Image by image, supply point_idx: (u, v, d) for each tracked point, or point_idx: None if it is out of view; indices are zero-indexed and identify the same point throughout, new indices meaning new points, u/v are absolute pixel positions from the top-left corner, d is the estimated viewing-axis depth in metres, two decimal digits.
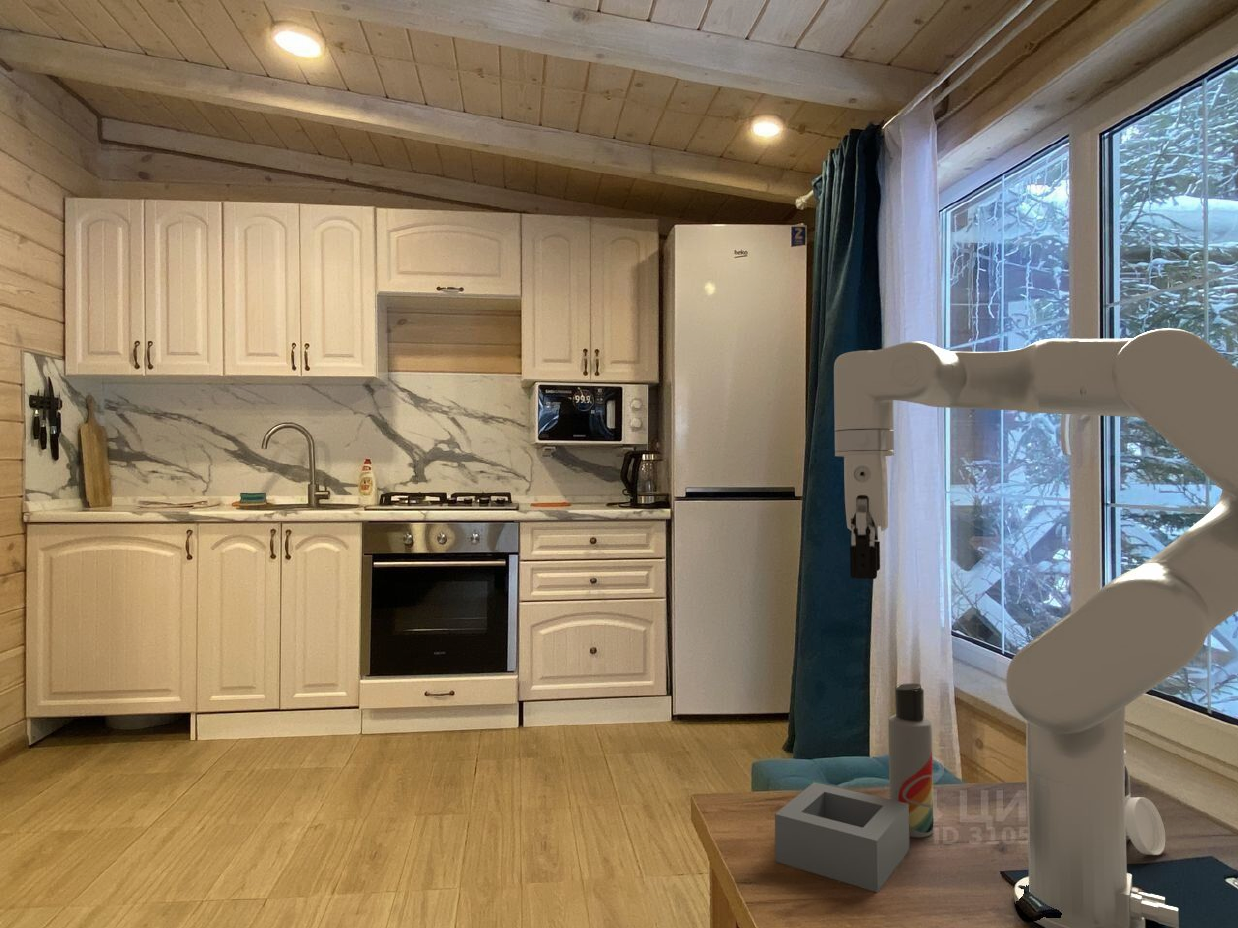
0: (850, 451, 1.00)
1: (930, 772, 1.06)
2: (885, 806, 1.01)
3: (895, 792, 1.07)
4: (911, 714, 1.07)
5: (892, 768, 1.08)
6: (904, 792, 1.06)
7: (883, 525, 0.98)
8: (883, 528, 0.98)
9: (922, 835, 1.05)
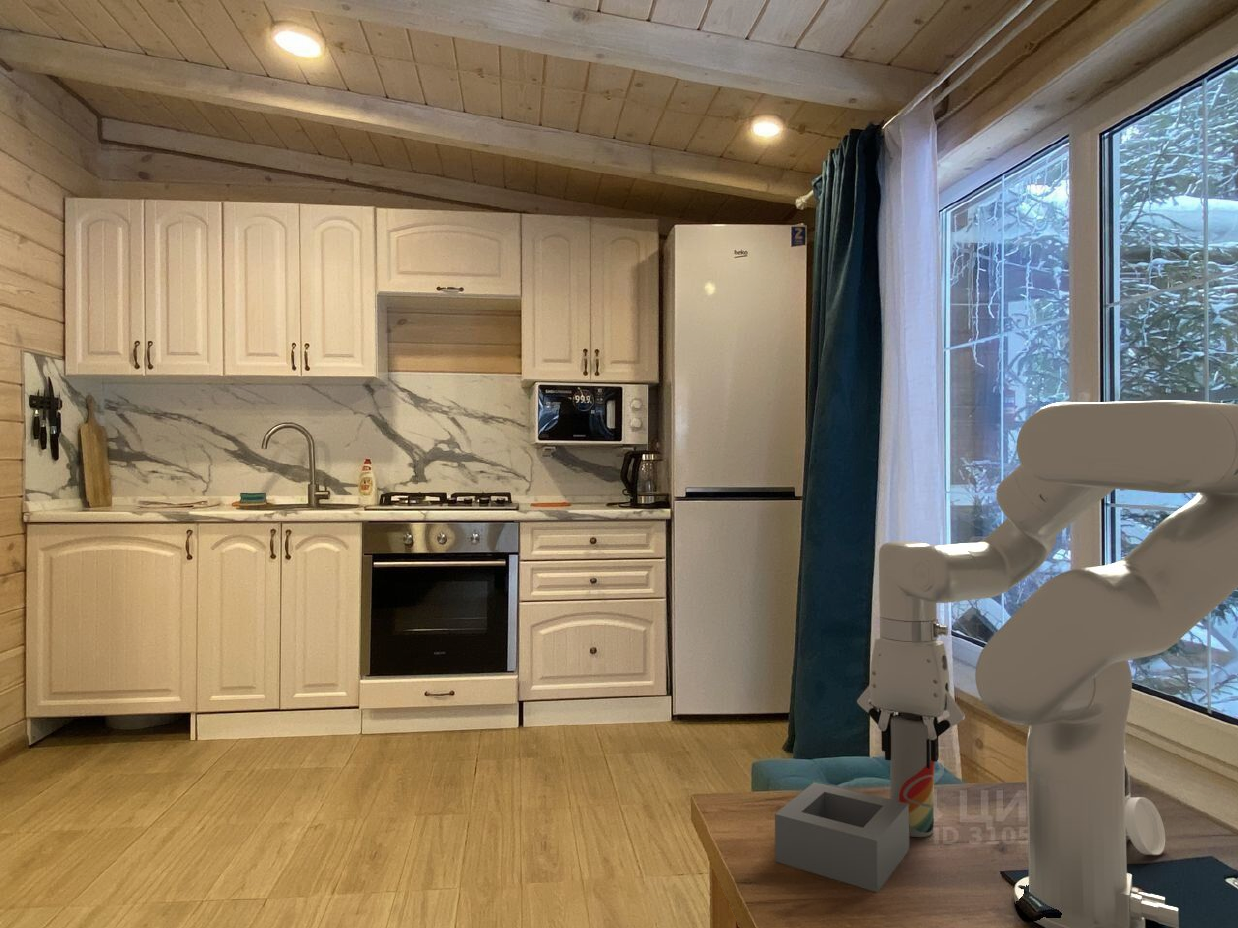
0: (930, 641, 1.05)
1: (931, 772, 1.06)
2: (885, 806, 1.01)
3: (896, 791, 1.07)
4: (914, 714, 1.06)
5: (893, 767, 1.08)
6: (905, 792, 1.06)
7: None
8: (946, 708, 1.08)
9: (922, 835, 1.05)
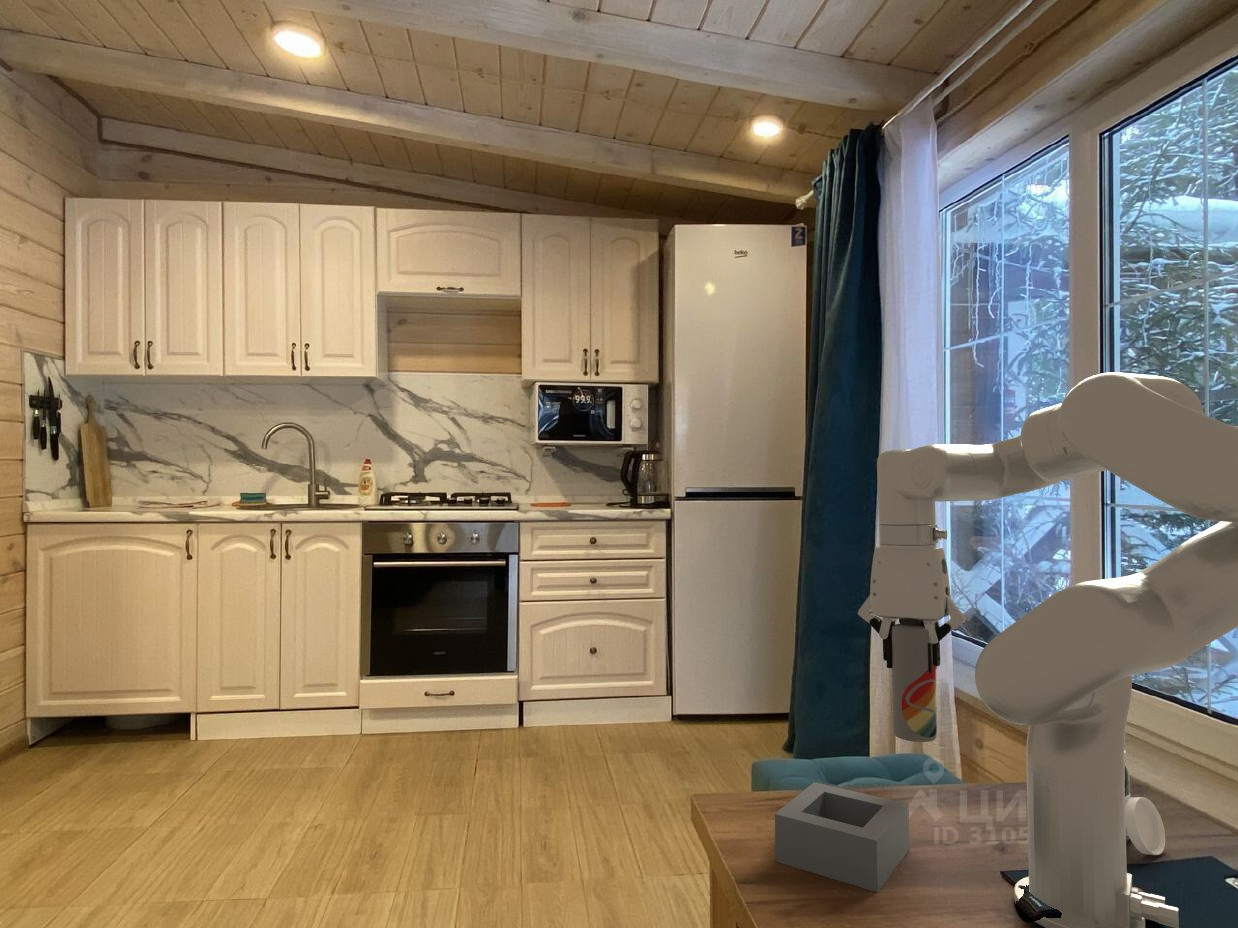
0: (930, 545, 1.06)
1: (933, 677, 1.06)
2: (885, 806, 1.01)
3: (898, 698, 1.07)
4: (914, 619, 1.06)
5: (895, 674, 1.07)
6: (907, 697, 1.06)
7: None
8: None
9: (925, 740, 1.05)
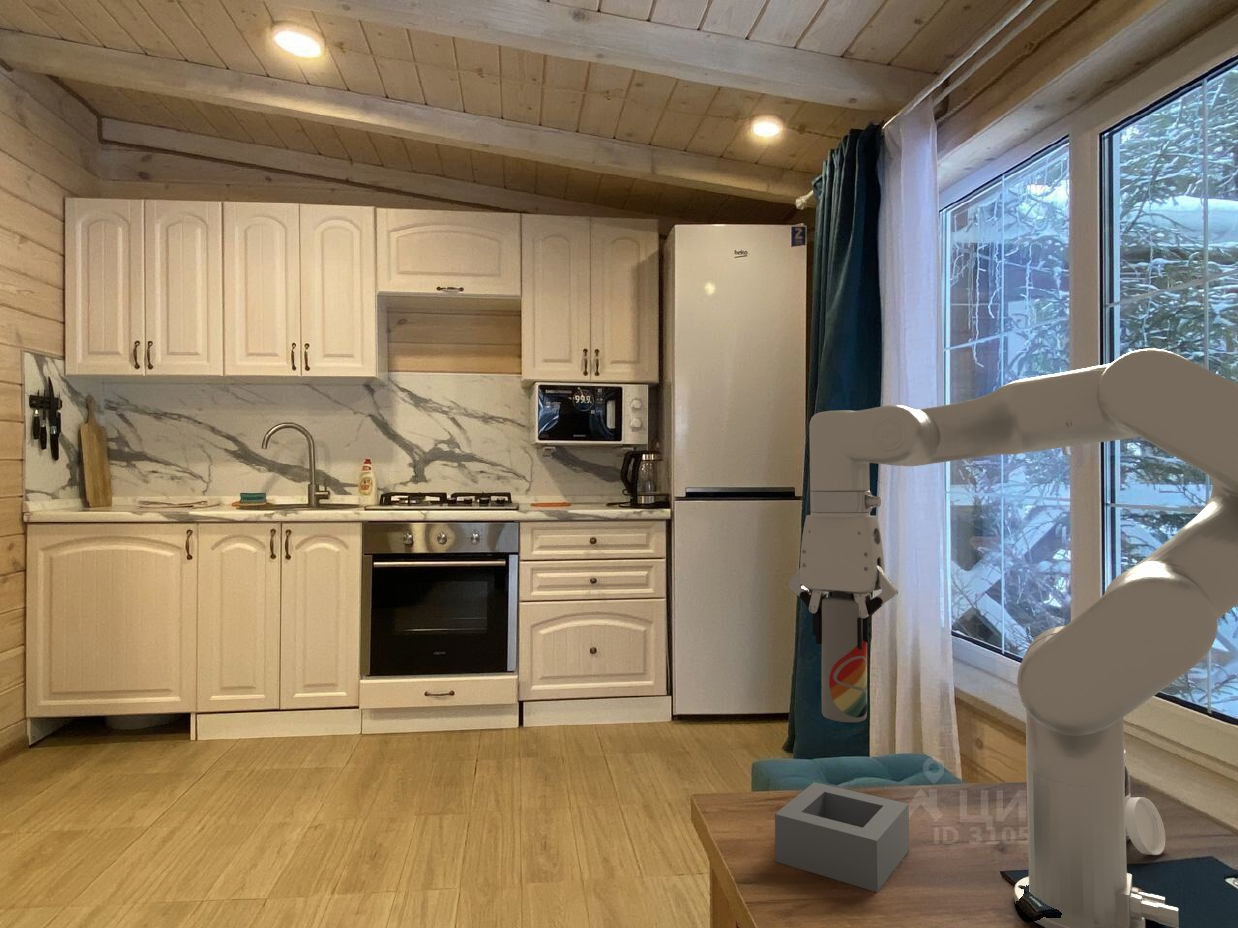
0: (861, 513, 0.99)
1: (863, 654, 0.99)
2: (885, 806, 1.01)
3: (826, 675, 1.00)
4: (844, 592, 0.99)
5: (823, 650, 1.01)
6: (835, 674, 0.99)
7: None
8: (880, 588, 1.01)
9: (853, 720, 0.98)
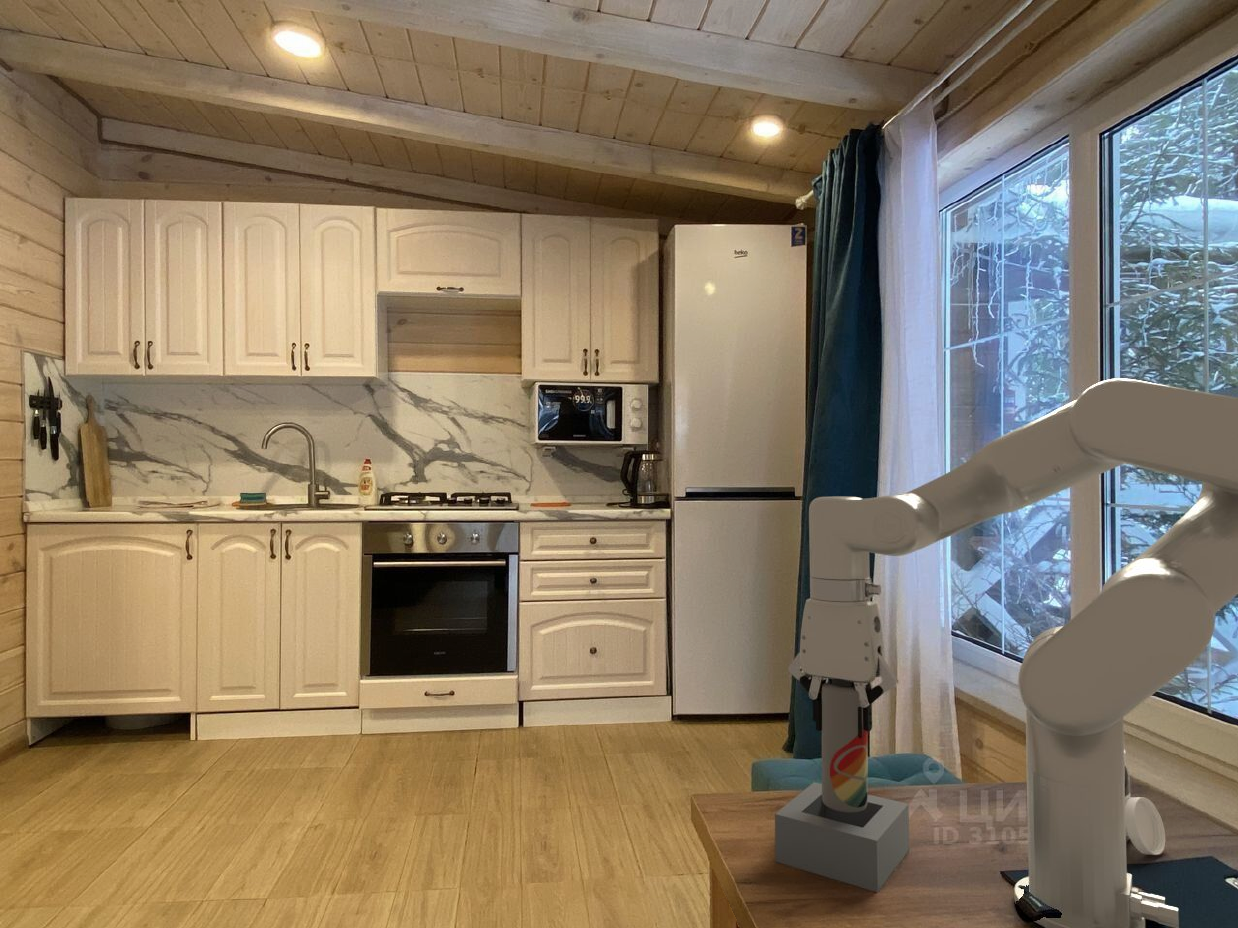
0: (861, 601, 0.98)
1: (864, 742, 0.99)
2: (885, 806, 1.01)
3: (827, 764, 0.99)
4: (845, 680, 0.99)
5: (824, 738, 1.00)
6: (835, 763, 0.98)
7: None
8: None
9: (854, 810, 0.98)
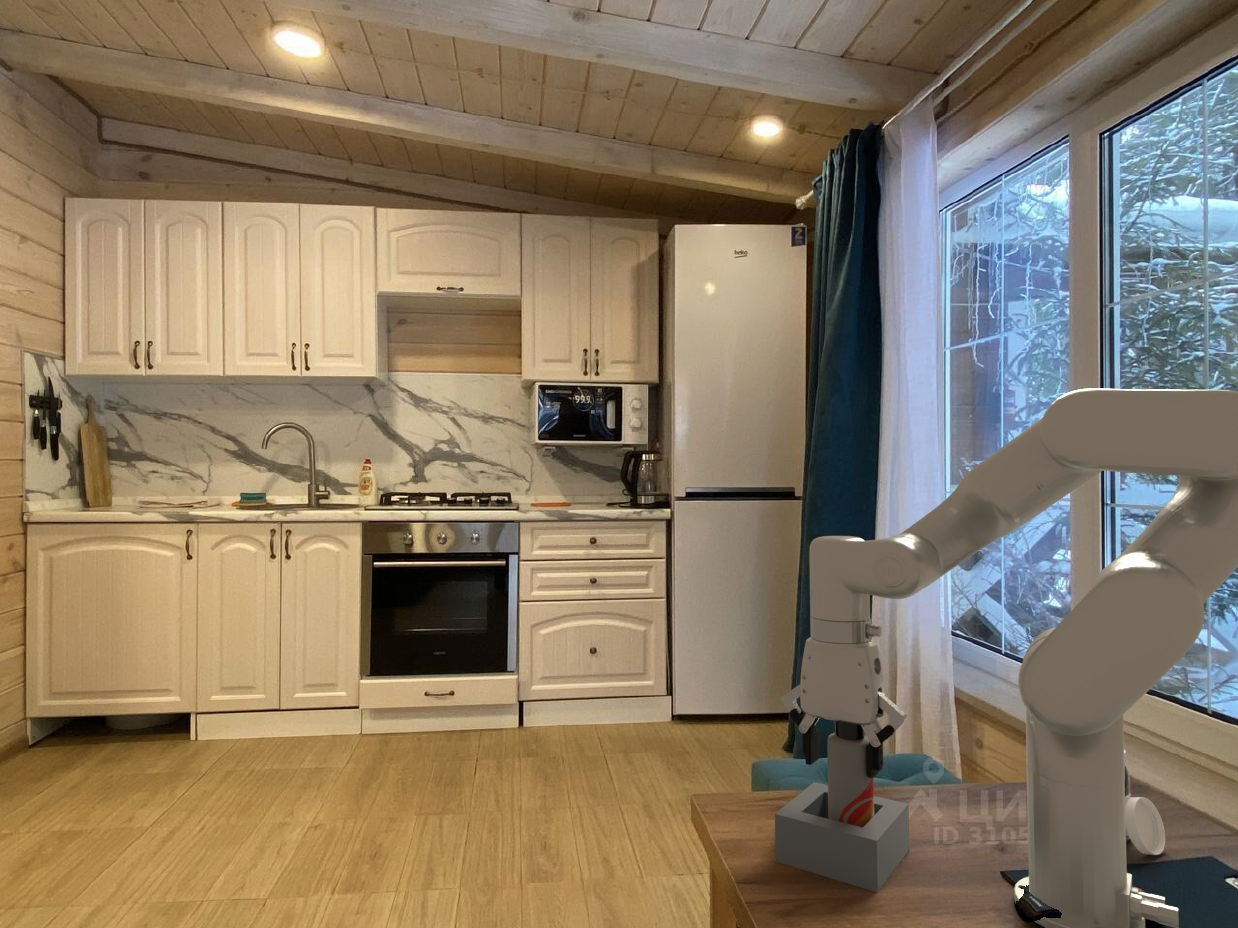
0: (862, 643, 0.98)
1: (872, 795, 0.99)
2: (885, 806, 1.01)
3: (835, 818, 0.99)
4: (852, 733, 0.99)
5: (831, 792, 0.99)
6: (845, 818, 0.98)
7: None
8: None
9: None
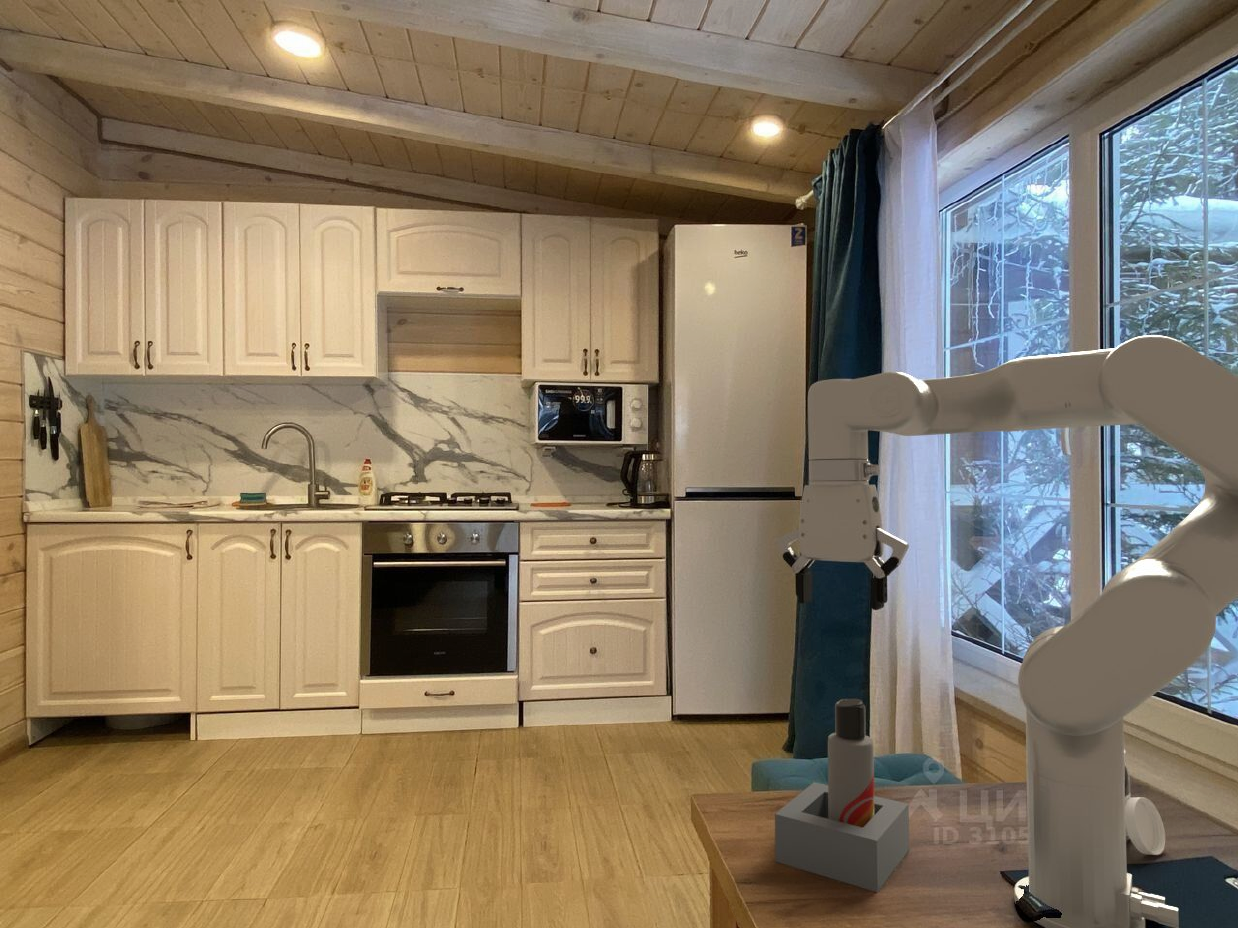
0: (860, 481, 0.98)
1: (872, 794, 0.99)
2: (885, 806, 1.01)
3: (835, 817, 0.99)
4: (853, 733, 0.99)
5: (832, 791, 0.99)
6: (845, 817, 0.98)
7: None
8: (879, 556, 1.01)
9: None
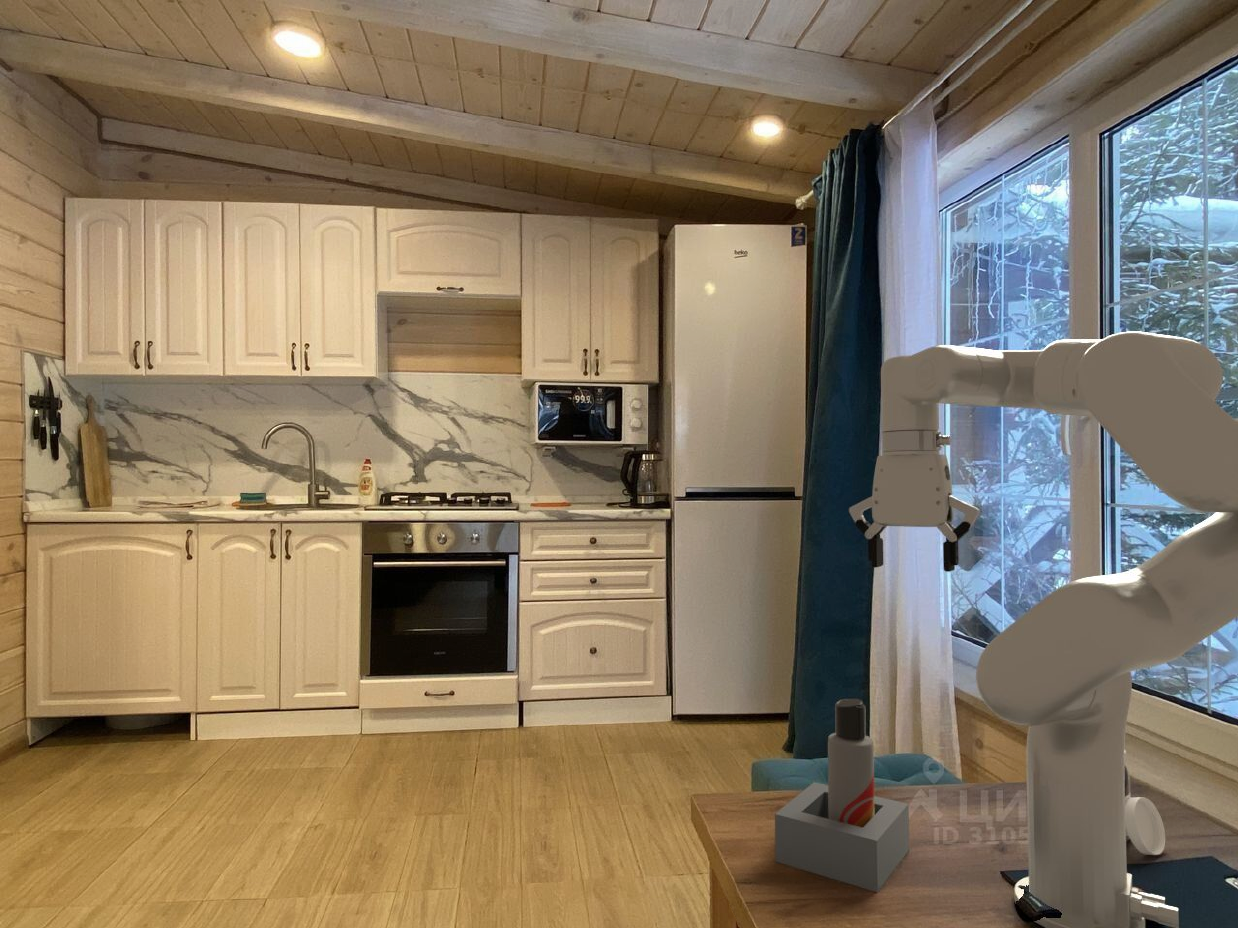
0: (933, 451, 1.05)
1: (872, 795, 0.99)
2: (885, 806, 1.01)
3: (835, 818, 0.99)
4: (853, 733, 0.99)
5: (832, 792, 0.99)
6: (845, 818, 0.98)
7: None
8: None
9: None
